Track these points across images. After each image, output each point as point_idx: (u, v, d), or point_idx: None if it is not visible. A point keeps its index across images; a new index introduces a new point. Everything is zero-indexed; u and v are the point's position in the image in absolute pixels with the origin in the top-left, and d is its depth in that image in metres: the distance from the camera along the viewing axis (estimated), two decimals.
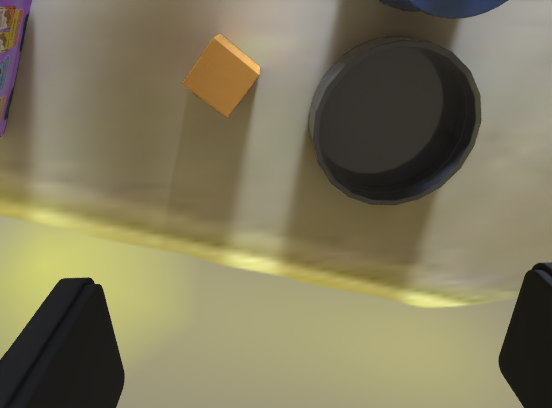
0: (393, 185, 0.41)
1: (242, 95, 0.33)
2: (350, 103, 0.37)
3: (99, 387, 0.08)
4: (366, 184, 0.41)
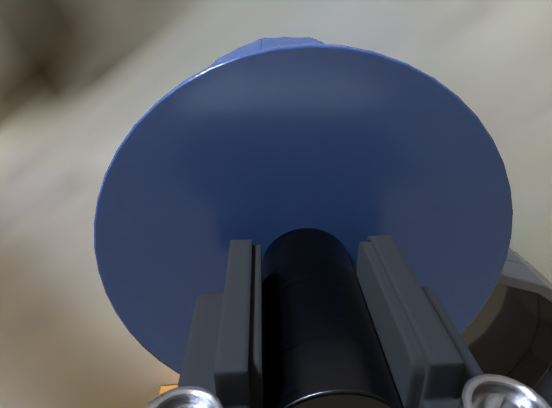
0: None
1: None
2: None
3: None
4: None
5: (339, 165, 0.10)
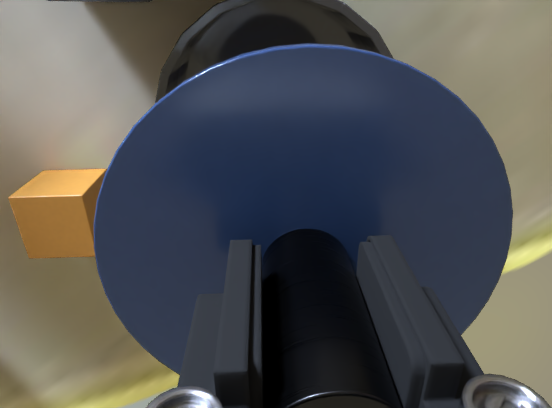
0: None
1: (87, 226, 0.26)
2: None
3: None
4: None
5: (339, 165, 0.10)
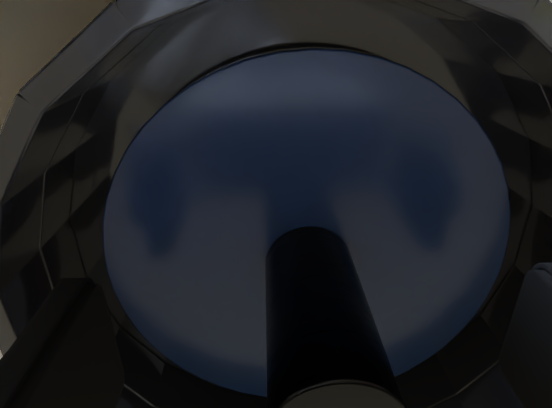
0: (456, 347, 0.14)
1: None
2: None
3: (99, 387, 0.08)
4: None
5: (341, 165, 0.10)
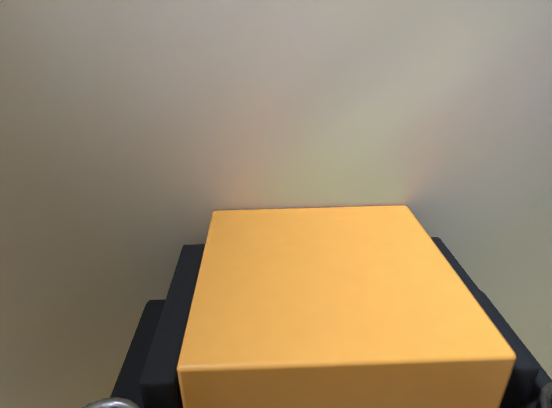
0: None
1: None
2: None
3: None
4: None
5: None
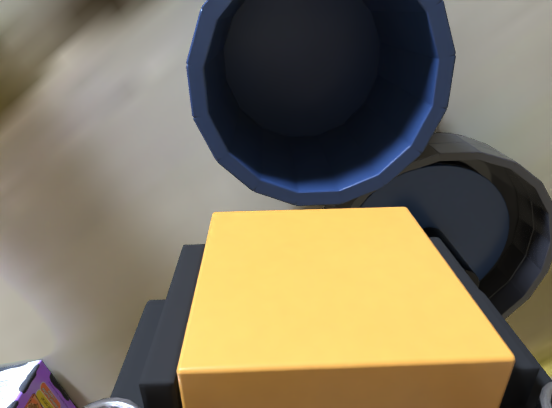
0: (486, 281, 0.30)
1: None
2: None
3: None
4: None
5: (444, 204, 0.26)
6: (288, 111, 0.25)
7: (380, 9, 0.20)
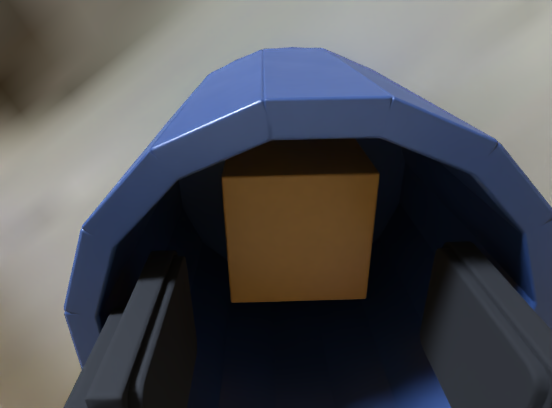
0: None
1: (368, 240, 0.12)
2: None
3: (186, 349, 0.09)
4: None
5: None
6: None
7: None
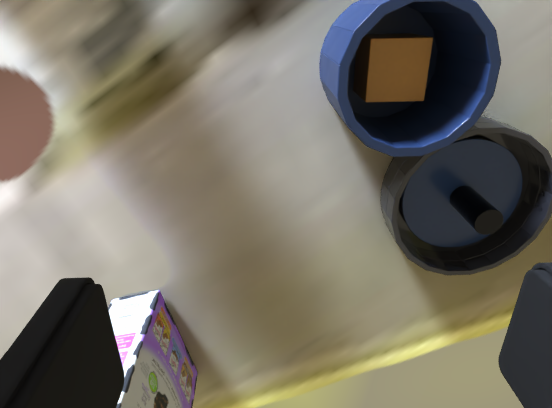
0: (503, 230, 0.40)
1: (427, 69, 0.29)
2: None
3: (99, 387, 0.08)
4: (477, 243, 0.41)
5: (476, 168, 0.37)
6: None
7: (443, 29, 0.30)
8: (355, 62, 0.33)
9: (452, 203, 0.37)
